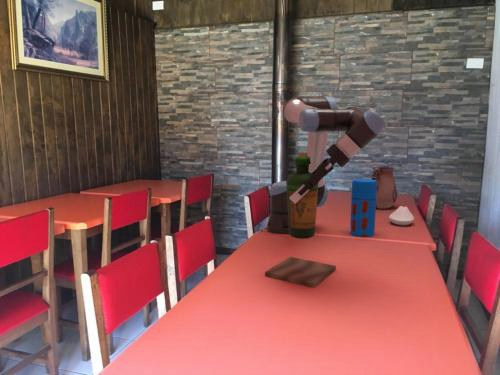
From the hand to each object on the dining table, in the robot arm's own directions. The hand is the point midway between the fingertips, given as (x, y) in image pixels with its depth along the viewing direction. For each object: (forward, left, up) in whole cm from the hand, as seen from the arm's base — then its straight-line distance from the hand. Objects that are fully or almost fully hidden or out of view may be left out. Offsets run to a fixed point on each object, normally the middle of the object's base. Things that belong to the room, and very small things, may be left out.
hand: (293, 197), depth 132 cm
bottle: (+3, +1, -13) cm, 14 cm away
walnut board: (+2, +1, -26) cm, 27 cm away
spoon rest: (+14, +94, -27) cm, 99 cm away
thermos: (+4, +60, -27) cm, 66 cm away
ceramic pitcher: (-5, +121, -27) cm, 124 cm away
